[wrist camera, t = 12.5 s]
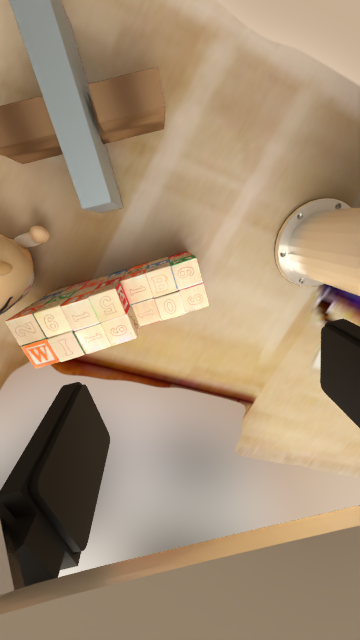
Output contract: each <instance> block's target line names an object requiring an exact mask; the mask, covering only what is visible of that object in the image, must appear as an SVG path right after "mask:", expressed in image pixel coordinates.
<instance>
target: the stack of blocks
mask: <svg viewBox="0 0 360 640" xmlns="http://www.w3.org/2000/svg"><path fill="white" fill-rule="evenodd" d="M208 306H209V304H208V300H207V296H206V292H205V288H204V284H203V282H202V277H201V273H200V270H199V266H198V262H197V258H196V257H195V256H194V255H192V254H191V253H189V252H188V251H186V252H183V253H180V254H176V255H173V256H170V257H165V258H161V259H158V260H155V261H151V262H148V263H144V264H141V265H138V266H134V267H131V268H129V269H126V270H123V271H120V272H116V273H113V274H110V275H107V276H103V277H100V278H97V279H93V280H88V281H85V282H81V283H78V284H75V285H71V286H67V287H64V288H60V289H57V290H54V291H52V292H50V293H49V294H47V295H46V296H44V297H43V298H42V299H40V300H39V301H37V302H35V303H33V304H31V305H30V306H28V307H26V308H25V309H23V310H22V311H21V312H19V313H18V314H16V315H14V316H13V317H11V318H10V319H8V320H6V321H5V323H6V324H7V326H8V327H9V329H10V331H11V332H12V334H13V335H14V337H15V339H16V340H17V342H18V344H19V345H22V349H23V351H24V353H25V354H26V356H27V357H28V359H29V360H30V362H31V363H32V365H33V366H34V368H35V369H37V368H41V367H44V366H47V365H51V364H54V363H57V362H60V361H61V362H63V361H66V360H69V359H72V358H76V357H79V356H82V355H84V354H85V353H87V354H90V353H93V352H96V351H99V350H102V349H105V348H108V347H110V346H112V345H117V344H120V343H123V342H126V341H129V340H132V339H135V338H137V335H138V331H139V327H142V326H145V325H148V324H151V323H155V322H158V321H161V320H162V321H164V320H167V319H170V318H174V317H177V316H180V315H184V314H186V313H187V312H191V311H194V310H198V309H201V308H204V307H208Z"/></svg>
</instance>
